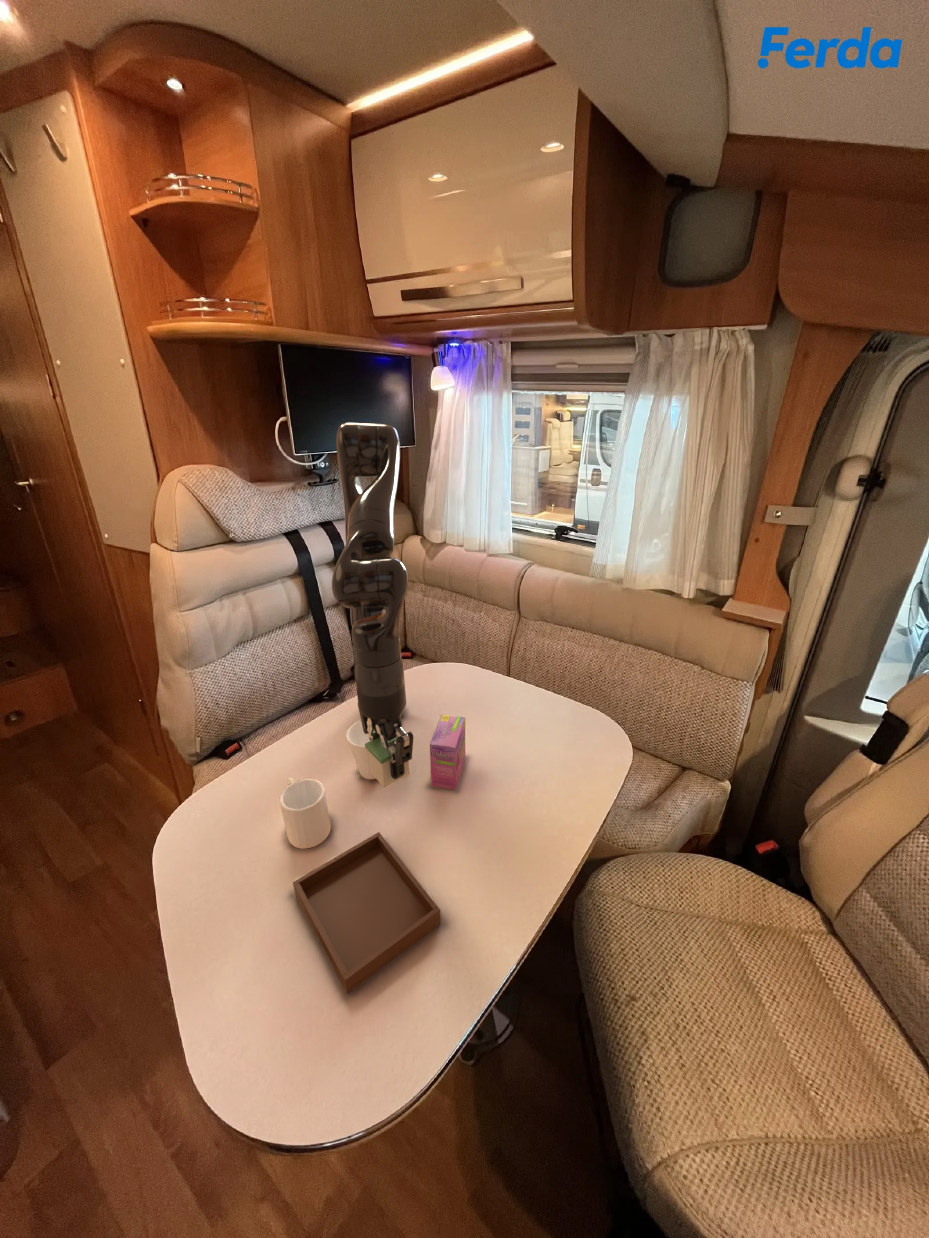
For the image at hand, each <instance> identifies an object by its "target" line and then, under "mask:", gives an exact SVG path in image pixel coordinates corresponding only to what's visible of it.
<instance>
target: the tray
mask: <svg viewBox="0 0 929 1238" xmlns="http://www.w3.org/2000/svg"><path fill="white" fill-rule="evenodd" d="M292 886H293V890H294V895H295V897H296V899H297V900H298V903H299V904H300V906H301V908H302V910H303V912H304V914H305V916H306V918H307V920H308V922H309V924H310V926H311V927H312V929H313V931H314V933H315V935H316V937H317V939H318V941H319V943H320V944H321V945H320V946H321V947H322V949H323V950H324V953H325V955H326V956H327V959H328V960H329V962H330V963H331V965H332V968H333V970H334V972H335V973H336V975H337V977H338V979H339V981H340V983H341V985H342V987H343V989H344V991H345V993H346V994H348V995H349V994H350V993H351V992H352V991H353V990H355V989H356V988H357V987H359V986H360V985H361V984H363V983H364V982H366V980H368V979H369V978H371V977H372V976H373V975H375V974H376V973H377V972H378V971H380V970H381V969H382V968H384V967H386V966H387V965H388V964H389V963H390V962H392V961H393V960H394V959H396V958H397V957H398V956H400V955H401V954H402V953H404V952H405V951H407V950H408V949H409V948H410V947H412V946H413V945H414V944H415V943H417V942H418V941H419V940H421V939H422V938H423V937H425V936H426V935H427V934H429V933H430V932H431V931H433V930H434V929H435V928H437V927H438V926H439V925H441V924H442V919H441V909H440V908H439V906H438V905H437V904H436V902H434V900H433V899H432V897H431V896H430V895H429V894H428V893H427V891H426V890H425V889H424V887H423V886H422V885H421V883H420V882H419V881H418V880H417V878H416V877H415V876H414V874H413V873H412V872H411V871H410V869H409V868H408V867H407V865H405V863H404V862H403V860H402V859H401V857H399V855H398V854H397V853H396V852H395V850H394V849H393V848H392V846H391V845H390V844H389V843H388V841H387V840H386V839H385V837H384V836H383V835H382V834H381V832H380V831H377V832H376V833H374V834H372V835H371V836H368V837H367V838H366V839H364V840H362V841H361V842H359V843H357V844H356V845H354V846H352V847H351V848H349V849H347V850H345V851H344V852H342V853H340V854H338V855H337V856H335V857H333V858H331V859H330V860H328V861H326V862H325V863H323V864H321V865H320V866H317V867H316V868H313V870H311V871H309V872H308V873H306V874H304V875H302V876H301V877H299V878H297V879H296V880H293V881H292Z"/></svg>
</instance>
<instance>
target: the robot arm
mask: <svg viewBox="0 0 929 1238" xmlns="http://www.w3.org/2000/svg"><path fill="white" fill-rule="evenodd" d="M335 439H336V440H335V441H336V442H335V445H336V456H337V457H336V458H337V464H338V472H339V478H340V479H339V480H340V485H341V492H342V499H343V510H344V530H345V531H344V532H345V535H344V536H345V545H344V548H343V549H342V552H341V554H340V556H339V558H338V560H337V562H336V564H335V567H334V569H333V573H332V577H331V590H332V595H333V598H334V599H335V600H336V602H337V603H338V604H339V606H342V607H343V608H346V609H349V612H350V614H349V615H350V624H351V627H352V628H351V641H352V648H353V657H354V679H355V687H356V695H357V696H356V697H357V708H358V712H359V717H360V720H361V722H362V727H363V731H364V733H365V734H369V736H368V737H369V740H370V741H372V740H374V739H376V738H378V737H380V738H381V742H382V745H383V748H384V749H385V750H387V752H388V755H389V759H390V769H391V777H392V778H393V779H397V778H399V777H401V776H403V775H404V773H405V770H404V763H405V762H407V761H409V762H410V761H411V760H413V752H414V751H413V749H414V740H415V739H414V733H413V732H412V731H408V732H406V731H404V729H403V723H402V720H401V718H402V717H403V716H404V710H405V708H406V706H407V694H406V693H407V692H406V681H405V668H404V662H403V658H402V648H401V635H400V627H401V618H402V617H401V616H402V611H403V607H404V603H405V599H406V596H407V591H408V587H409V575H408V571H407V568H406V566H405V565H404V563H403V562H402V561H401V560H400V559H398V558H396V557H392V554H393V553H394V550H395V549H394V547H395V524H394V523H395V522H394V521H395V520H394V516H395V513H394V511H395V503H396V497H397V490H398V484H399V474H400V464H401V443H400V437H399V434H398V431H397V429H396V428H395V427H394V426H393V425H390V424H386V423H373V422H371V423H370V422H351V421H350V422H342V423H341V424H339V426H338V427H337V431H336V437H335ZM360 478H375V479H374V480H373V481H372V482H370V484H369V485H367V486H366V488H365V489H364V488H363V485H362V484H361V481H360ZM367 721H368V725H367ZM395 737H397V738H396V740H394V741H392V742H390V743H388V741H389V740H391V739H394V738H395ZM395 747H396V750H395V754H394V752H393V749H394V748H395Z"/></svg>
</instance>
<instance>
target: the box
mask: <svg viewBox="0 0 929 1238" xmlns="http://www.w3.org/2000/svg"><path fill="white" fill-rule="evenodd" d="M465 760H466V717H463V716H458V715H450V714H449V715H448V714H441V715H440V717H439V719H438V721H437V725H436V727H435V730H434V731H433V735H432V737H431V740H430V742H429V761H430V762H429V763H430V787H433V788H440V789H446V790H453V791H457V787H458V784H459V781H460V777H461V774H462V770H463V767H464V764H465Z"/></svg>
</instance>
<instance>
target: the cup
mask: <svg viewBox="0 0 929 1238" xmlns="http://www.w3.org/2000/svg"><path fill="white" fill-rule="evenodd" d="M367 725H368V721H367ZM368 736H369V734H365V733H364V731H363V727H362V722H361V719H360V720H357V721H356V722H354V723H353V724H351V726H349V728H348V729H347V731H346V733H345V738H346V740H347V742H348V743H349V746H350V749H351V752H352V754H353V757H354V760H355V764H356V765H357V769H358V772H359V774H360V776H361V777H362V778H364V779H365V780H377V779H376V778H375V777H374V776H373V775H372V774H371V773H370V770H369V762H368V753H367V749H366V748H365V744H366V743H368V742H370V740H369V737H368Z"/></svg>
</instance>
